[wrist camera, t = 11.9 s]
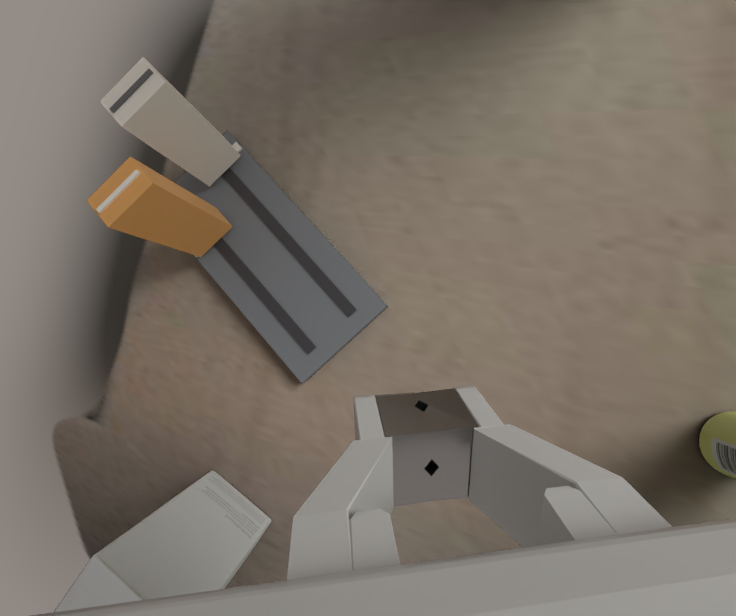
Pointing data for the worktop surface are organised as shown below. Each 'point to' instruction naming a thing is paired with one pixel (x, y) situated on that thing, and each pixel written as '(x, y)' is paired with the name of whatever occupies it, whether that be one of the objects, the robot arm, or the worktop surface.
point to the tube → (720, 443)
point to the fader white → (169, 123)
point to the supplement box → (174, 549)
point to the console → (282, 268)
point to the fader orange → (157, 210)
